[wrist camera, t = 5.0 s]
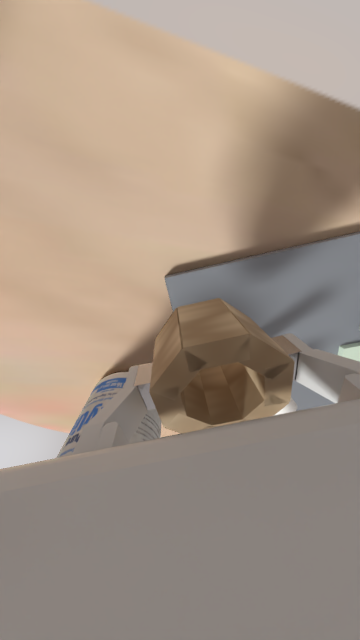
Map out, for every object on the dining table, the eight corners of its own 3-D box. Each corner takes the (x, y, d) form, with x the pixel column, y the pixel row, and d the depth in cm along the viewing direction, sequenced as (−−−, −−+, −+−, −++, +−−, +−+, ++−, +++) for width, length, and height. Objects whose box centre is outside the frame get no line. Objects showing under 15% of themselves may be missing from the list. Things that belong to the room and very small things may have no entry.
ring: (146, 314, 10) (135, 358, 6) (250, 290, 10) (299, 322, 6) (170, 387, 12) (172, 448, 9) (252, 370, 12) (287, 425, 9)
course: (165, 275, 17) (157, 307, 9) (436, 214, 16) (724, 183, 8) (202, 425, 27) (214, 505, 19) (372, 395, 26) (467, 469, 17)
